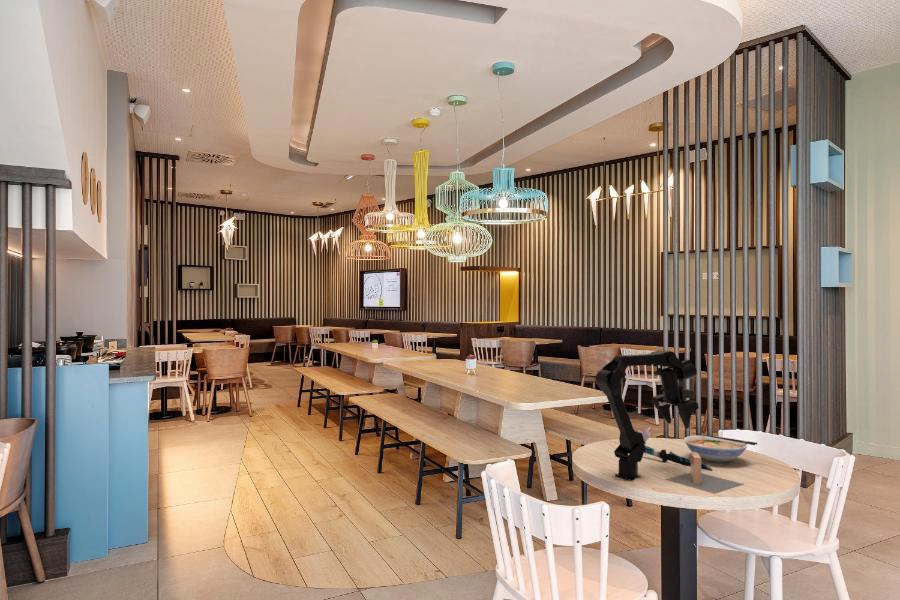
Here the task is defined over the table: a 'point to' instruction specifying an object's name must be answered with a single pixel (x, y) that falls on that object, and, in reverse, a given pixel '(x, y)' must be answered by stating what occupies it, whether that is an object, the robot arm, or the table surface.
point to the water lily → (645, 434)
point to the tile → (696, 468)
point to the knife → (672, 457)
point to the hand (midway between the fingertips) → (678, 425)
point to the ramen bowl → (716, 447)
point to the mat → (706, 483)
